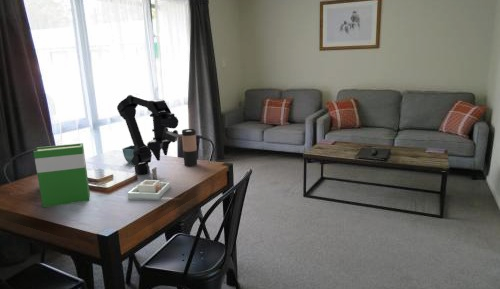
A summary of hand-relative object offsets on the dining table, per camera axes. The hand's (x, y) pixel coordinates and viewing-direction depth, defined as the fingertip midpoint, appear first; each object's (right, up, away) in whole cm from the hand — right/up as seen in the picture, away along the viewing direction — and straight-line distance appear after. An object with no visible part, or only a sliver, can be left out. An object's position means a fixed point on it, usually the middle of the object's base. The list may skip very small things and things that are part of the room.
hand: (162, 157), depth 174 cm
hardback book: (-36, -18, -19) cm, 45 cm away
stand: (-3, -12, +1) cm, 13 cm away
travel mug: (+9, -5, +29) cm, 31 cm away
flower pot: (-25, -4, +36) cm, 44 cm away
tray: (-2, -16, -13) cm, 21 cm away
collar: (-2, -15, -14) cm, 20 cm away
